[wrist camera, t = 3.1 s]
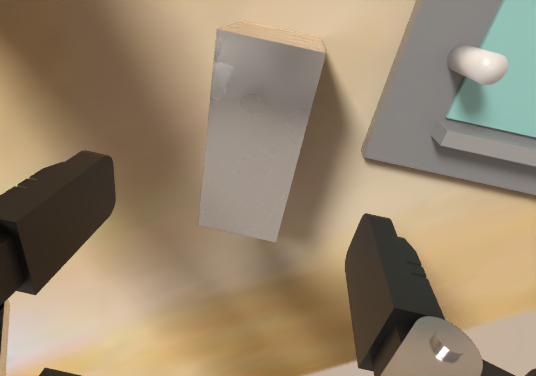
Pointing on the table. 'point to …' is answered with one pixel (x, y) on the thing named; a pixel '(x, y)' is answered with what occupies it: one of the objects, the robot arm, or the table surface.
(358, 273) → the robot arm
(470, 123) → the docking tray
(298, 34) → the block
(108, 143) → the table surface
